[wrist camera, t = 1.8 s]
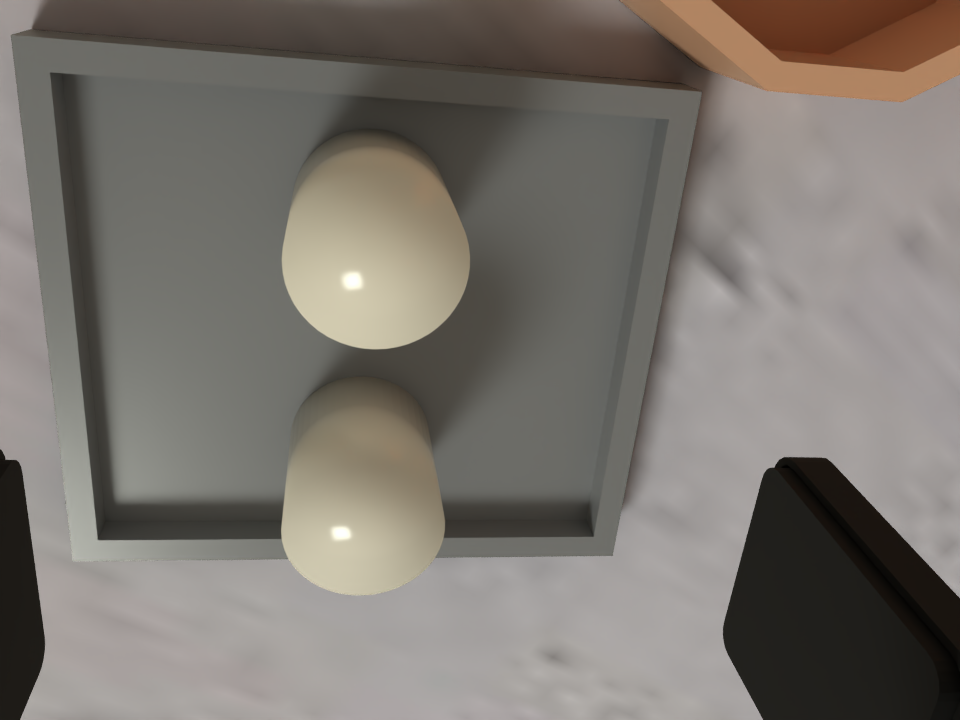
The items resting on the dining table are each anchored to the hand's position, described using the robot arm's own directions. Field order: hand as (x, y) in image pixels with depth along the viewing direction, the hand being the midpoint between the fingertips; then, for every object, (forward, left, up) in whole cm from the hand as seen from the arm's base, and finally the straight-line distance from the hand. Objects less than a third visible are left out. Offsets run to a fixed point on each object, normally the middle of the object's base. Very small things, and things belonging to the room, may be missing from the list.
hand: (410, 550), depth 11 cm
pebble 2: (+7, 0, -16) cm, 17 cm away
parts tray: (+4, 0, -16) cm, 17 cm away
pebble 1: (0, 0, -16) cm, 16 cm away
